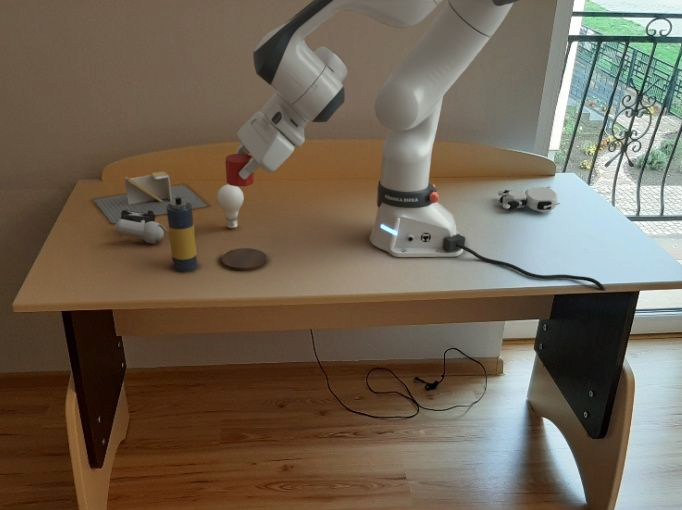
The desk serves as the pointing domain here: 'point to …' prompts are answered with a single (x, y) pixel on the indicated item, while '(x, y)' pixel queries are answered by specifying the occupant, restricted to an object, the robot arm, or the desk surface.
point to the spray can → (182, 235)
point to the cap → (233, 167)
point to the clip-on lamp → (140, 226)
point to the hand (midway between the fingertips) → (236, 170)
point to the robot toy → (530, 199)
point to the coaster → (244, 259)
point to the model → (146, 196)
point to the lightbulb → (230, 203)
